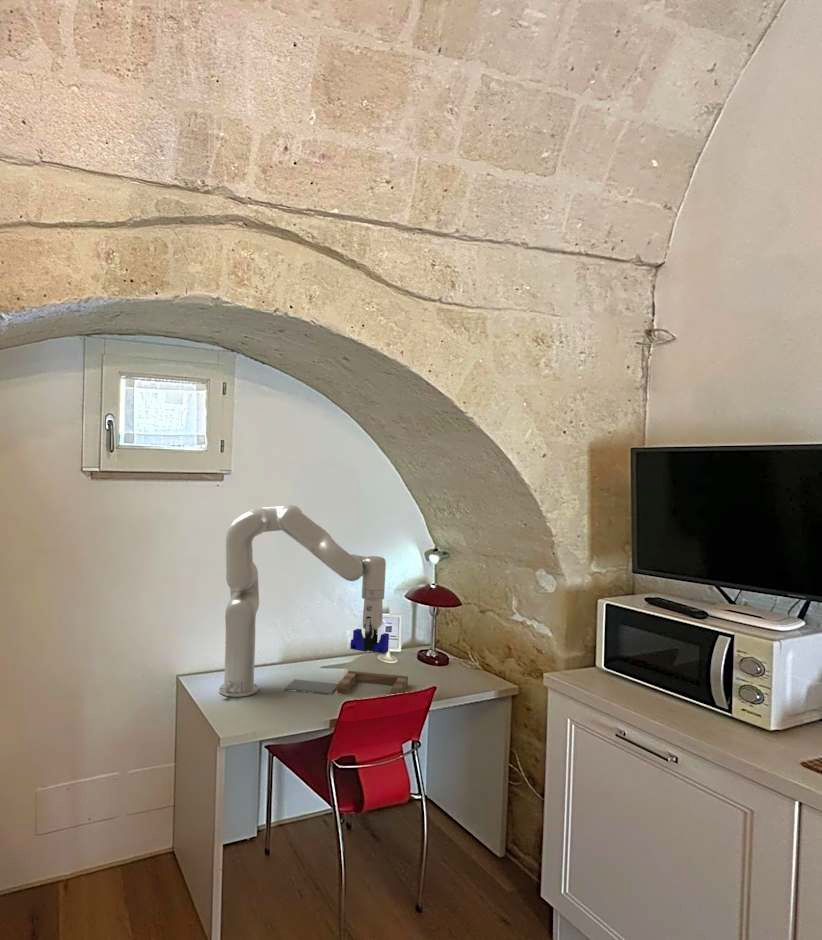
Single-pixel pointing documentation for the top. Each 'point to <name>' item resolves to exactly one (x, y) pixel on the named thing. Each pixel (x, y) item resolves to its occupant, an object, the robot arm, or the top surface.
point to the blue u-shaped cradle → (380, 647)
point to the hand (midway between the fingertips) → (370, 647)
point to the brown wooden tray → (372, 681)
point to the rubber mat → (312, 686)
